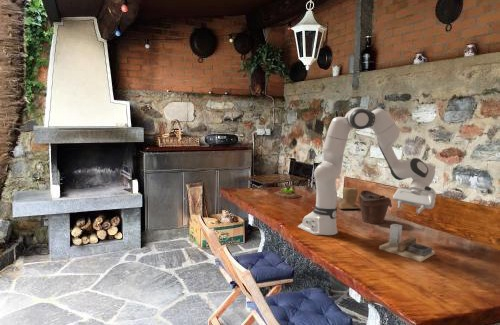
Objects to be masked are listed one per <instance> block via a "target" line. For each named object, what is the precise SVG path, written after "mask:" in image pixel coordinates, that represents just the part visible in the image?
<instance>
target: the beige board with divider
mask: <svg viewBox="0 0 500 325" xmlns="http://www.w3.org/2000/svg"><path fill="white" fill-rule="evenodd" d="M378 247H379V248H378V249H379V250H381V251H384V252H388V253H391V254H395V255H398V256H400V257H404V258H407V259H411V260H412V261H413V260H414V261H417V262H421V263H422V262H423V261H425V260H427V259H428V258H430V257H432V256H433V255H435V250H433V247H432V246H427V245H424V244H420V243H418V242H417V237H414V236H410V237H409V238H407V239H404V240H401V242H400V243H398V247H395V246H392V245H389V241H387V242H385V243H383V244H380V245H379V246H378Z"/></svg>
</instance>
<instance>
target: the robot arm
mask: <svg viewBox="0 0 500 325" xmlns="http://www.w3.org/2000/svg"><path fill="white" fill-rule="evenodd" d="M367 128H371V129H372V131H373V132H374V134H375V135H376V137H377V139H378V148H379V150H380V152H381V154H382V156H383V158H384V159H385V161H386V164H387V165H388V168H389V170H390V174H391V176H392V177H393V178H394V180H395V179H396V180H397V181H403V180H406V179H410V178H411V179H412V181H411V183H410V185H409V186H408V187H404V186H401V187H398V188H397V189H396V191H395V193H394V194H393V195H392V199H393V201H394V202H395V203H397V210H400V211H402V208H403V206H402V204H403V205H408V206H413V207H418V208H416V210H415V214H418V215H419V214H420V213H421V212H422V211H423V210H425V209H428V210H432V209H433V208H434V207H435V204H436V198H437V194H436V190H435V189H434V188H432V187H430V185H431V184H432V183H433V180H434V178H435V176H436V175H435V174H436V168H435V166H434V165H433V164H431V163H430V162H425V161H423V160H422V159H421V158H418V157H413V158H409V159H406V160H399V159H398V157H397V154H396V153H395V151H394V149H393V145H394V144H395V143H396V142H397V141H398V139H399V137H400V134H401V132H400V128H399V126H398V125H397V123H396V122H395V120H394V119H393V118H392V116H390V114H389V113H388V112H387V111H386V110H384V109H383V108H375V109H373V110H371V111H369V110H368V109H366V108H364V107H361V106H359V107H358V106H357V107H352V108H350V109H349V110H348V111H347V112H346V113H345V114H344V115H343V116H335V117H334V118H333V119H332V120H331V122H330V124H329V127H328V129H327V132H326V135H325V136H326V137H325V140H324V144H323V148H322V151H323V154H322V156H323V157H322V162H321V163H319V165H317V166H316V168H315V169H314V172H313V177H314V180H315V188H316V189H315V190H316V198H315V205H313V206H311V208H312V211H311V212H310V213H308V214H306V215H305V216H304V217H303V219H302V222H301V223H300V224H298V226H297V228H299V229H300V230H303V231H305V232H307V233H310V234H312V235H314V236H315V235H316V236H317V235H321V236H322V235H323V236H333V235H334V236H335V235H336V234H337V235H338V233H339V231H338V226H337V213H338V206H337V202H338V201H337V200H338V192H337V186H336V180H337V179H338V178H339V177H340V176H341V173H342V167H343V160H344V153H345V150H346V146H347V141H348V137H349V134H350V131H351V130H353V129H356V130H365V129H367Z"/></svg>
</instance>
